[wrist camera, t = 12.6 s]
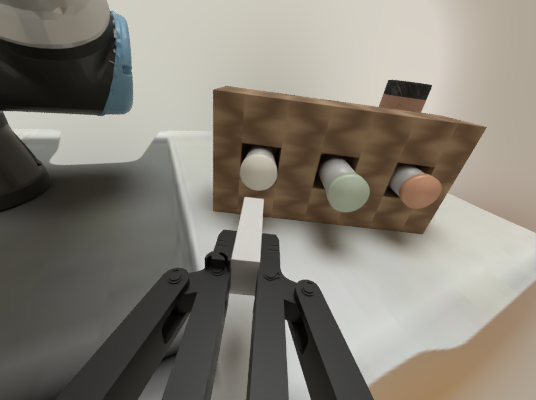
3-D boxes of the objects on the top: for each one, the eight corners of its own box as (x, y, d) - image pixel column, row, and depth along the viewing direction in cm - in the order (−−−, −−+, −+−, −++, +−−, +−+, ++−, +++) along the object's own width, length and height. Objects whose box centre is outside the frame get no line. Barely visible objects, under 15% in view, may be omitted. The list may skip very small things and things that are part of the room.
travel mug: (388, 190, 47) (434, 84, 37) (351, 179, 50) (386, 78, 40) (390, 179, 53) (431, 86, 43) (358, 170, 56) (389, 80, 46)
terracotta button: (397, 206, 28) (412, 174, 26) (374, 182, 34) (385, 155, 32) (430, 210, 28) (448, 179, 26) (402, 186, 34) (415, 159, 32)
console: (213, 210, 32) (213, 89, 24) (223, 186, 39) (226, 86, 31) (422, 233, 34) (486, 127, 26) (397, 206, 41) (441, 115, 33)
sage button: (323, 210, 25) (334, 174, 23) (313, 183, 31) (321, 152, 29) (361, 214, 25) (375, 179, 23) (344, 186, 31) (354, 157, 29)
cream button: (238, 188, 27) (240, 153, 25) (244, 167, 33) (246, 137, 31) (274, 192, 27) (279, 158, 25) (273, 170, 33) (278, 141, 31)
